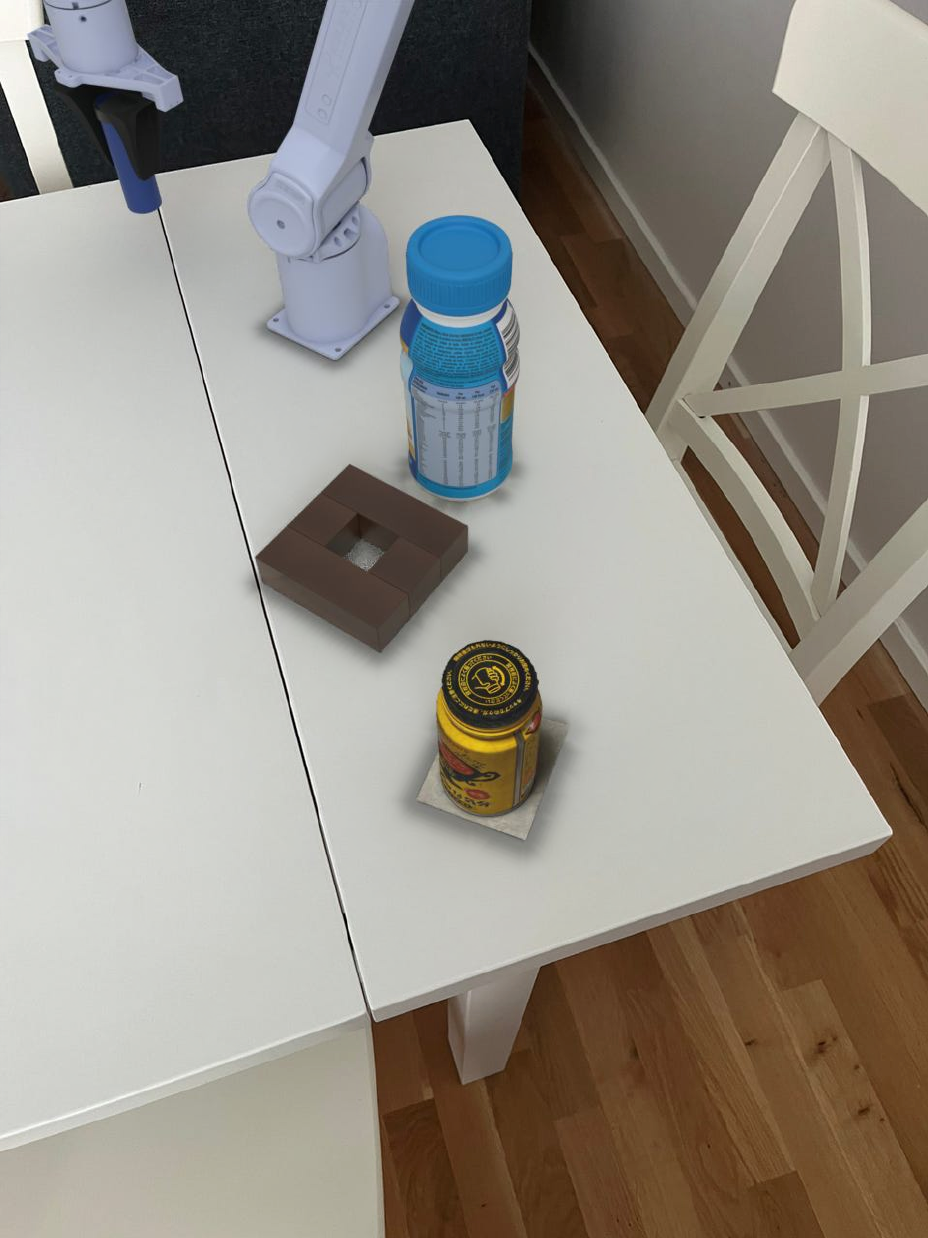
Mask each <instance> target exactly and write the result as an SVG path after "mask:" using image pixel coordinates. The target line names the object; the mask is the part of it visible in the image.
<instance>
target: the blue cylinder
mask: <svg viewBox="0 0 928 1238" xmlns="http://www.w3.org/2000/svg"><path fill="white" fill-rule="evenodd" d="M114 94H118V91H110V92H106V93H104V94H101V95H100V96H98V97H97V98H96V99H95V100H94V102H93V107H94V110H95V114H96V117H97V119H98V120H99V121H101V124H102V127H103V130H104V134H105V137H106V140H107V143H108V146H109V150H110V153H111V156H112V159H113V162H114V165H115V166H114V168H115V172H116V175H117V178H118V181H119V183H120V187H121V191H122V194H123V197H124V200H125V203H126V206H127V207H126V208H127V209H128V210H129V212H131V213H134V214H139V215H145V214H151V213H153V212H156V211H157V210H158V209H160V207H161V206H162V204H163V198H162V195H161V192H160V188H159V185H158V180H157V177H156V174H155V175H153V176H152V177H150V178H149V179H147V180H146V181H143V180H141V179H139V178H138V177H137V175H136V174H135V172H134V170H133V168H132V166H131V163H130V161H129V158H128V155H127V153H126V150H125V147H124V145H123V143H122V141H121V139H120V137H119V135H118V133H117V132H116V130H115V128H114V127H113V125H112V124H111V122H110V121H109V120H108V118H107V117H106V116H105V115H104V113H103V112H102V111H101V110H100V109H99V106H98V104H99V103H100V102H102V101H104V100H105V99H107V98H109V97H110V96H112V95H114Z"/></svg>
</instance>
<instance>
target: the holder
mask: <svg viewBox="0 0 928 1238" xmlns="http://www.w3.org/2000/svg"><path fill="white" fill-rule="evenodd" d="M361 540H363V541H365V542H367V543H369V544H370V545H372V546H374V547H376V548H377V549H379V550H381V551H383V552H384V553H383V554H381V556H380V557H379V558H378V559H377V560H376V562H375V563H374V564H373V565H372V566H371V567H370V568H369V569H368V570H366V569H365V568H362V567H361V566H359V565H357V564H355V562H354V563H353V562H352V561H350V560H348V559H346V558H345V556H346V555H347V554H348V553H349V552H350V551H351V550H352V549H353V548H354V546H356V545H357V543H359V541H361ZM468 551H469V525H467V524H466V523H463V522H461V521H460V520H458V519H456V518H454V517H453V516H450V515H449V514H446V513H444V512H443V511H440V510H439V509H437V508H434V507H433V506H432V505H429V504H427V503H426V502H423V501H422V500H419V499H418V498H415V497H414V496H412V495H410V494H408V493H406V492H404V491H402V490H401V489H399V488H397V487H396V486H393V485H392V484H389V483H387V482H385V481H383V480H382V479H379V478H377V477H376V476H374V475H372V474H370V473H368V472H366V471H364V470H363V469H360V468H359V467H357V466H355V465H353V464H351V463H348V465H346V466H345V467H344V468H343V470H341V472H340V473H339V474H337V475H336V476H335V477H334V478H333V480H331V481H330V482H329V483H328V484H327V485H326V486H325V487H324V488H323V489H322V490H321V491H320V492H319V493H318V494H317V495H316V496H314V498H313V499H312V500H311V501H310V502H309V503H308V504H307V505H306V506H305V507H304V508H303V509H302V510H301V511H300V512H299V513H297V515H296V516H295V517H294V518H293V519H292V520H291V521H290V522H288V524H287V525H286V526H285V527H284V528H283V529H281V530H280V532H279V533H277V535H276V536H275V537H273V539H272V540H271V541H269V542H268V543H267V544H266V545H265V547H263V549H261V551H259V552H258V553H257V554H256V555H255V556H254V559H255V563H256V566H257V570H258V573H259V577H260V580H261V583H263V585H266V586H268V587H269V588H271V589H272V590H274V591H276V592H278V593H279V594H281V595H283V596H284V597H286V598H287V599H289V600H291V601H292V602H294V603H296V604H297V605H300V606H301V607H302V608H305V609H306V610H307V611H309V612H311V613H313V614H315V615H316V616H318V617H320V618H321V619H323V620H324V621H327V622H328V623H330V624H331V625H333V626H335V627H336V628H337V629H340V630H341V631H343V632H345V633H347V634H348V635H350V636H351V637H353V638H355V639H356V640H358V641H360V642H361V643H363V644H365V645H367V646H368V647H370V648H372V649H374V650H375V651H377V653H382V652H383V650H384V649H385V648H386V647H387V646H388V645H389V643H390V642H391V641H392V640H393V639H394V638H395V636H396V635H397V634H398V633H399V632H400V631H401V630H402V629H403V628H404V626H405V625H406V624H407V622H408V621H409V620H410V619H411V618H412V617H413V616H414V615H415V614H416V612H417V611H418V610H419V609H420V608H421V607H422V605H423V604H424V603H425V602H426V601H427V599H429V597H430V596H431V595H432V593H433V592H434V591H435V590H436V589H437V588H438V587H439V585H441V584H442V582H443V581H445V579H446V578H447V577H448V575H450V573H451V572H452V571H453V570H454V568H455V567H456V566H457V565H458V564H459V563H460V561H461V560H462V559H463V558H464V557H465V555H467V553H468Z"/></svg>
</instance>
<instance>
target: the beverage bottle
mask: <svg viewBox="0 0 928 1238" xmlns="http://www.w3.org/2000/svg"><path fill="white" fill-rule="evenodd" d="M513 253H514V252H513V247H512V242H511V240H510V237H509V235H508V234H507V233H506V231H504V230H503V228H501V227H500V226H499V225H497V224H496V223H494V222H492V221H490V220H488V219H485V218H483V217H478V216H474V215H463V214H456V215H455V214H454V215H446V216H440V217H437V218H433V219H431V220H429V221H427V222H425V223H423V224H422V225H420V226H419V227H418V228H416V229H415V230H414V231H413V232H412V234H411V235H410V237H409V238H408V240H407V243H406V251H405V266H406V268H405V269H406V279H407V280H406V281H407V282H406V283H407V287H408V291H409V294H410V297H411V298H410V300H409V301H408V303H407V305H406V307H405V309H404V312H403V314H402V317H401V321H400V324H399V341H400V344H401V351H400V355H399V371H400V378H401V380H402V383H403V390H404V391H403V392H404V404H405V415H406V428H407V429H406V431H407V441H408V443H407V444H408V450H407V451H408V453H407V456H408V466H409V468H408V469H409V471H410V474H411V476H412V478H413V480H414V481H415V482H416V484H417V485H418V486H419V487H420V488H421V489H422V490H423V491H425V492H426V493H427V494H430V495H431V496H433V497H435V498H437V499H440V500H445V501H450V502H471V501H476V500H479V499H483V498H485V497H487V496H490V495H492V494H493V493H495V492H496V491H497V490H499V489H500V488H501V487H502V486H503V485H504V484H505V483H506V482H507V479H508V478H509V476H510V474H511V471H512V467H513V457H514V452H513V451H514V449H513V427H514V414H515V413H514V411H515V397H516V386H517V385H516V384H517V382H518V380H519V377H520V370H521V359H520V352H519V348H518V346H519V344H520V339H521V330H520V324H519V319H518V316H517V313H516V311H515V309H514V306H513V304H512V302H511V301H510V299H509V298H508V296H509V293H510V291H511V286H512V276H513V257H514V254H513Z"/></svg>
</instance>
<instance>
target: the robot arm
mask: <svg viewBox="0 0 928 1238" xmlns="http://www.w3.org/2000/svg"><path fill="white" fill-rule="evenodd" d="M42 2H43V6H44V9H45V12H46V16H47V19H48V21H49V24H50V25H49V24H46V23H45V24H43V25H41V26H39V27H37V28H35V29H34V30H32V31H29V32H28V33H27V34H26V35H27V38H28V41H29V43H30V47H31V50H32V53H33V56H34V58H35V59H36V60H38V61H41V62H44V63H45V62H48V61H50V60H51V62H53V64H55V66H56V67H57V68H58V69H56V70H55V71H54V76H55V80H54V81H53V82H52V84H51V88H52V90H53V93H54V94H55V95H56V96H57V97H58V98H59V99H60V100H61V101H62V102H63V103H65V105H66V106H67V107H68V108H69V109H70V110H71V112H72V113H73V114H74V116H75V117H77V119H78V120H79V122H80V123H81V125H82V126H83V128H84V129H85V131H86V133H87V134H88V136H89V137H90V138H91V140H92V142H93V144H94V146H95V147H96V148H97V151H98V152H99V154H100V156H101V157H102V158H103V160H104V161H105V163H106V164H107V165H108V166H110V167H112V168H113V167H115V165H114V162H113V159H112V156H111V153H110V150H109V146H108V143H107V140H106V137H105V134H104V130H103V127H102V124H101V121H99V120H98V119H97V117H96V114H95V110H94V107H93V102H94V100H95V99H96V98H97V97H98V96H100V95H101V94H104V93H106V92H110V91H118V94H114V95H112V96H110V97H109V98H107V99H105V100H104V101H102V102H100V103H99V104H98V106H99V109H100V110H101V111H102V112H103V113H104V115H105V116H106V117H107V118H108V120H109V121H110V122H111V124H112V125H113V127H114V128H115V130H116V132H117V133H118V135H119V137H120V139H121V141H122V143H123V145H124V147H125V150H126V153H127V155H128V158H129V161H130V163H131V166H132V168H133V170H134V172H135V174H136V175H137V177H138V178H139V179H141V180H143V181H146V180H147V179H149V178H150V177H152V176H153V175H155V176H156V175H157V174H158V173H159V172H161V171H162V163H161V162H162V161H161V156H162V155H161V141H162V140H161V137H162V126H163V122H164V121H163V120H164V115H165V113H167V112H168V111H170V110H171V109H173V108H176V107H177V106H178V105H180V104H181V103H183V102H184V97H183V93H182V89H181V85H180V80H179V77H178V75H177V74H174V73H172V72H170V71H168V70H166V69H165V68H164V67H163V66H162V65H160V63H159V62H157V61H156V60H155V58H154V57H152V56H151V55H150V54H149V53H148V52H147V51H146V50H144V48H142V47H141V46H140V45H139V44H138V43H137V40H136V37H135V34H134V30H133V26H132V21H131V18H130V15H129V10H128V7H127V3H126V0H42ZM414 3H415V0H327V1H326V5H325V8H324V12H323V15H322V19H321V23H320V25H319V26H320V27H319V29H318V34H317V36H316V40H315V44H314V47H313V51H312V55H311V58H310V62H309V65H308V69H307V73H306V76H305V78H304V80H305V81H304V82H303V87H302V91H301V94H300V98H299V101H298V105H297V109H296V111H295V116H294V118H293V124H292V125H291V127H290V129H289V131H288V132H287V134H286V136H285V137H284V139H283V141H282V142H281V144H280V145H279V147H278V149H277V150H276V153H275V154H274V155H273V158H272V159H271V161H270V163H269V166H268V169H267V172H266V173H267V174H266V175H265V178H263V179H262V180H261V181H259V182H258V183H257V184H256V185H255V186H253V188H252V189H251V190H250V192H249V194H248V197H247V199H246V204H247V205H246V208H247V209H246V210H247V213H248V214H247V215H248V218H249V220H250V221H249V222H250V223H251V225H252V228H253V229H254V231H255V233H256V234H257V235H258V236H259V238H260V239H261V240H262V241H263V242H264V243H265V245H266V246H268V248H269V249H270V251H272V252H274V253H275V259H276V260H275V261H276V264H277V265H276V266H277V270H278V275H279V276H278V277H279V281H280V288H281V292H282V298H283V303H284V307H283V308H282V309H281V310H280V311H278V312H277V313H276V314H274V315H273V316H272V317H271V318H270V319H269V320H268V321H266V327H267V329H269V330H271V331H272V332H274V333H277V334H278V335H280V336H283V337H285V338H287V339H288V340H291V341H293V342H295V343H297V344H299V345H301V346H303V347H305V348H307V349H310V350H311V351H313V352H316V353H318V354H320V355H322V356H324V357H325V358H328V359H330V360H333V361H337V360H339V359H340V358H342V357H343V356H344V355H345V354H346V353H347V352H349V351H350V350H351V349H353V347H354V346H355V345H356V344H357V343H359V342H360V341H361V340H362V339H363V338H364V337H365V336H366V335H367V334H369V332H371V331H372V330H373V329H374V328H375V327H377V326H378V324H379V323H381V322H382V321H383V320H384V319H385V318H386V317H388V315H390V314H391V313H392V312H393V311H394V310H395V309H396V308H398V307H399V306H400V299H399V298H398V297H396V296H394V295H392V283H391V282H392V281H391V269H390V255H389V243H388V238H387V235H386V231H385V229H384V227H383V225H382V223H381V221H380V220H379V218H378V217H377V216H376V214H375V213H374V212H373V211H372V210H370V209H369V208H368V207H367V206H366V205H364V204H362V203H361V201H360V200H361V199H362V198H363V197H364V196H365V195H367V193H368V191H369V189H370V187H371V184H372V177H373V176H372V174H373V173H372V166H371V151H372V147H373V145H374V142H375V137H374V136H373V134H372V133H371V132H370V131H369V127H370V125H371V122H372V119H373V117H374V114H375V111H376V108H377V106H378V103H379V100H380V97H381V94H382V92H383V89H384V87H385V84H386V81H387V77H388V75H389V73H390V69H391V66H392V64H393V61H394V58H395V56H396V53H397V50H398V48H399V45H400V42H401V39H402V37H403V34H404V31H405V28H406V25H407V23H408V19H409V17H410V14H411V11H412V9H413V6H414Z"/></svg>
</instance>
